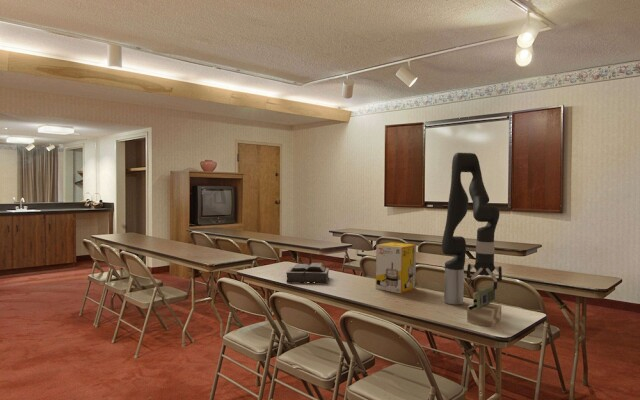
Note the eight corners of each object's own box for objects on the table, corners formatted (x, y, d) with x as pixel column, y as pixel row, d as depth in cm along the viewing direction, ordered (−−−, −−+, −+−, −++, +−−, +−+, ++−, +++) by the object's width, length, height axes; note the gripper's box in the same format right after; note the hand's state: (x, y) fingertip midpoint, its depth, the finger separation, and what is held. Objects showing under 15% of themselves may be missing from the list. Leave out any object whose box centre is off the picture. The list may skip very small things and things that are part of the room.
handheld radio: (496, 301, 203) (474, 312, 184) (489, 300, 205) (466, 310, 186) (496, 286, 203) (474, 295, 184) (488, 285, 205) (466, 294, 186)
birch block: (478, 316, 202) (479, 301, 202) (501, 321, 195) (501, 305, 195) (467, 322, 193) (467, 306, 193) (490, 327, 186) (490, 311, 186)
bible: (324, 286, 260) (324, 269, 259) (280, 282, 267) (280, 266, 267) (334, 278, 282) (334, 262, 282) (293, 275, 289) (293, 260, 289)
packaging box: (415, 288, 255) (416, 244, 255) (401, 293, 243) (402, 247, 242) (390, 284, 266) (391, 242, 265) (375, 288, 253) (376, 244, 252)
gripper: (502, 251, 194) (501, 288, 195) (468, 249, 199) (467, 285, 200) (502, 254, 187) (501, 292, 188) (467, 251, 193) (465, 289, 193)
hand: (483, 289), depth 194 cm, fingers open, 8 cm apart
